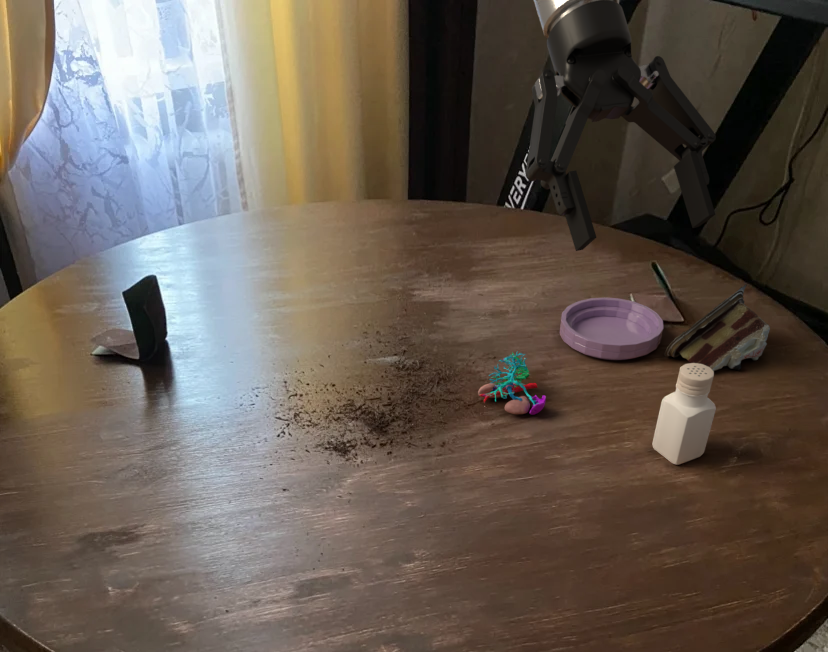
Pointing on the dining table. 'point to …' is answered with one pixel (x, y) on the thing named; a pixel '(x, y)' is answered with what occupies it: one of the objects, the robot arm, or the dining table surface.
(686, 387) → the pepper shaker
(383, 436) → the dining table surface
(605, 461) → the dining table surface
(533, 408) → the anatomy model
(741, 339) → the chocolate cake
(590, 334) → the dish
